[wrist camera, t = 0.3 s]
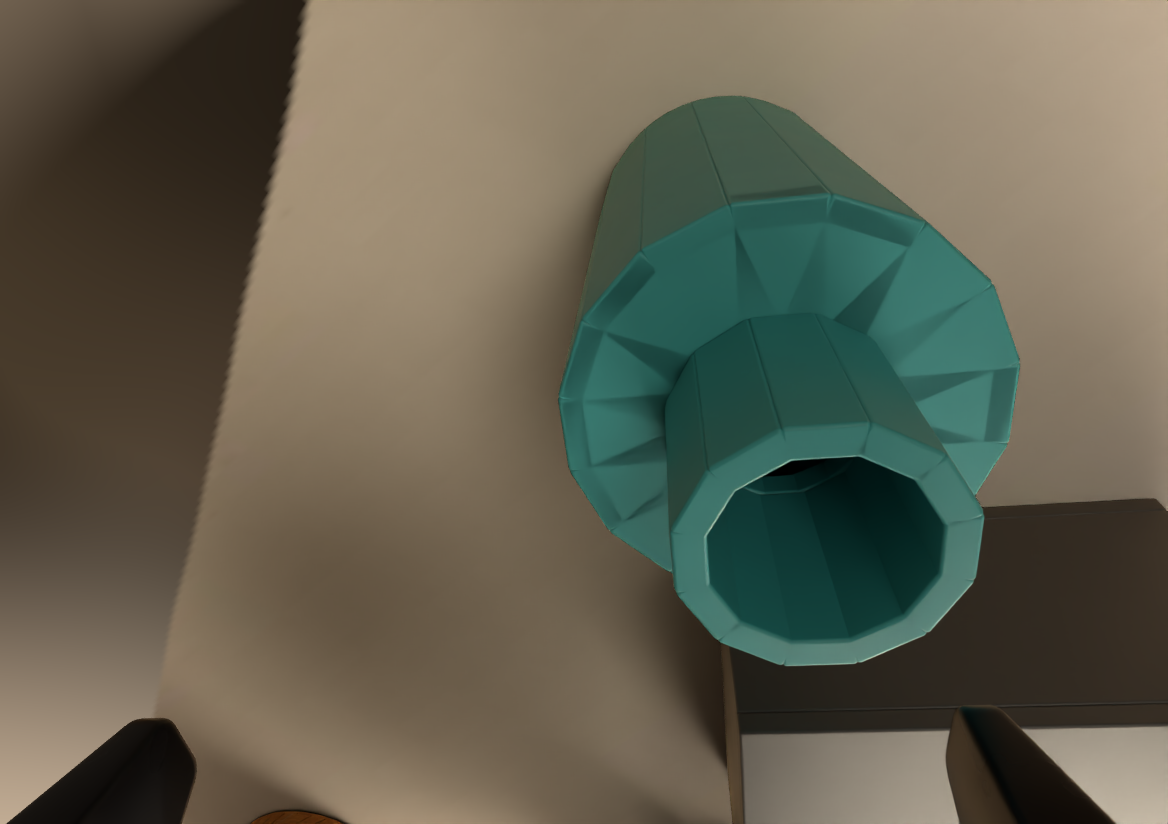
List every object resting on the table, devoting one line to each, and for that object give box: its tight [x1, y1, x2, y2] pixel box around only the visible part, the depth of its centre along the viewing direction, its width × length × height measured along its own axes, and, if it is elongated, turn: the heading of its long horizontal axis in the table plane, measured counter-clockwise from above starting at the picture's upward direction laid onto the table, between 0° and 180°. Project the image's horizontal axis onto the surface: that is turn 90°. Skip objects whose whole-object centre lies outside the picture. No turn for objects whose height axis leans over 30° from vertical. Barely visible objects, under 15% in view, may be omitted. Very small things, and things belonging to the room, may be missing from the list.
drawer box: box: [721, 499, 1168, 824], centre depth 23 cm, size 13×12×8 cm
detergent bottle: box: [558, 96, 1020, 666], centre depth 14 cm, size 6×6×14 cm
